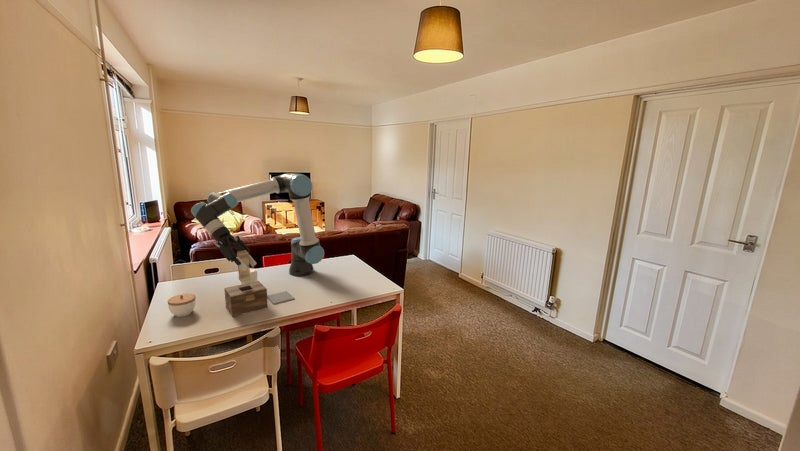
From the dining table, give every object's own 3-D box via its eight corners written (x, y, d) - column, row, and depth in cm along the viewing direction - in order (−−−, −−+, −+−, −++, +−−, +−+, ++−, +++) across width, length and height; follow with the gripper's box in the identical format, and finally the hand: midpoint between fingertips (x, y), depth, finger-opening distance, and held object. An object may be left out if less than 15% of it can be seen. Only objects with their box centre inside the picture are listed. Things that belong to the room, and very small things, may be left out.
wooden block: (238, 279, 156) (236, 251, 153) (247, 277, 158) (245, 250, 155) (241, 281, 153) (239, 253, 150) (250, 280, 155) (248, 252, 152)
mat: (266, 296, 171) (266, 295, 171) (286, 292, 178) (286, 291, 178) (273, 304, 163) (273, 303, 163) (294, 299, 170) (294, 298, 170)
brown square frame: (225, 307, 158) (224, 288, 156) (259, 298, 168) (258, 281, 166) (232, 317, 149) (231, 297, 147) (267, 308, 159) (267, 289, 157)
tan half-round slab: (242, 295, 172) (240, 273, 169) (241, 289, 179) (240, 268, 176) (258, 292, 175) (257, 271, 173) (257, 287, 182) (256, 267, 180)
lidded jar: (194, 306, 157) (192, 288, 155) (198, 314, 150) (197, 296, 148) (167, 312, 150) (165, 293, 148) (170, 321, 143) (168, 302, 141)
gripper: (228, 231, 163) (258, 265, 163) (197, 240, 145) (231, 278, 145) (236, 221, 161) (267, 256, 161) (206, 229, 143) (241, 269, 143)
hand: (250, 267), depth 153 cm, fingers closed on wooden block, 6 cm apart
